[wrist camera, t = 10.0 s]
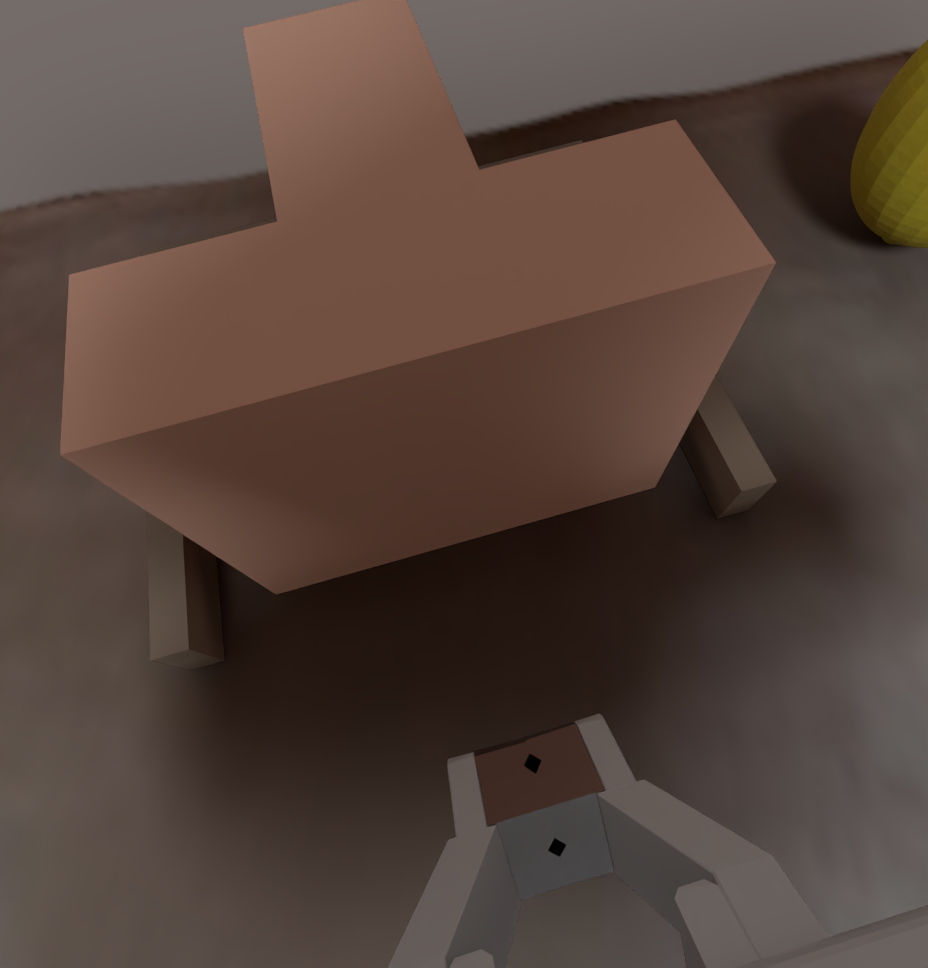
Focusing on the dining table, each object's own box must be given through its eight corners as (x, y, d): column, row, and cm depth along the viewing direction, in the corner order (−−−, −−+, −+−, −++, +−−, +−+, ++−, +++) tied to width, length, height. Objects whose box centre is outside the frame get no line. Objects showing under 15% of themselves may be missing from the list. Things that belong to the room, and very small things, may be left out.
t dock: (749, 509, 17) (776, 481, 15) (190, 670, 16) (150, 660, 15) (576, 186, 23) (581, 140, 22) (169, 292, 23) (139, 252, 21)
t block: (655, 487, 18) (775, 263, 9) (276, 594, 17) (60, 454, 9) (541, 242, 22) (557, -48, 14) (241, 321, 22) (79, 67, 14)
